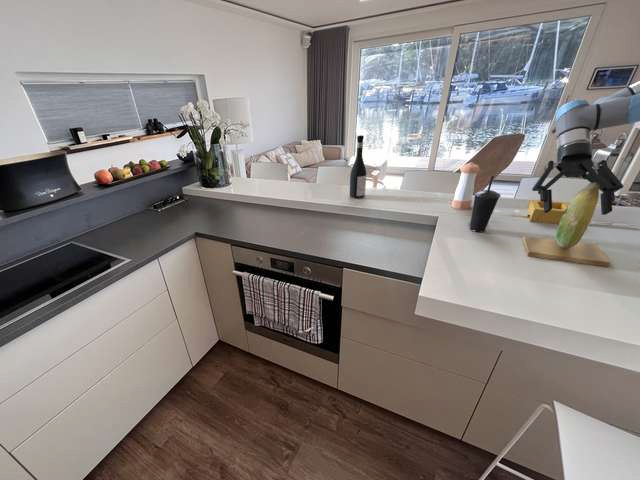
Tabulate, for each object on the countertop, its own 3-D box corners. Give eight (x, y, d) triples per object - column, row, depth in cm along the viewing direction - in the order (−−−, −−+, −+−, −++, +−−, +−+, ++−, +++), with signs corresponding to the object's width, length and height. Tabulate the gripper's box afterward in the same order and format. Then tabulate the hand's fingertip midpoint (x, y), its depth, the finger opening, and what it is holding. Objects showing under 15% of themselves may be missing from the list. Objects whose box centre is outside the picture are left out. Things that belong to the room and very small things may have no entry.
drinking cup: (493, 233, 103) (511, 178, 93) (469, 233, 105) (485, 179, 95) (484, 225, 110) (500, 172, 100) (462, 225, 111) (475, 173, 101)
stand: (562, 214, 113) (567, 202, 110) (569, 225, 104) (575, 212, 102) (525, 211, 118) (530, 199, 116) (529, 221, 110) (534, 208, 107)
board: (594, 248, 89) (596, 244, 88) (607, 267, 81) (610, 262, 80) (522, 240, 98) (523, 236, 97) (527, 256, 89) (528, 251, 88)
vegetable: (580, 253, 85) (615, 186, 75) (554, 251, 87) (584, 186, 77) (570, 244, 90) (601, 180, 80) (546, 243, 92) (573, 180, 82)
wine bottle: (367, 195, 152) (372, 134, 137) (359, 199, 148) (363, 137, 133) (354, 193, 158) (357, 134, 143) (346, 197, 153) (348, 136, 138)
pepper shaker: (448, 204, 131) (457, 161, 122) (463, 203, 131) (474, 159, 122) (457, 210, 125) (468, 164, 116) (473, 208, 125) (486, 163, 116)
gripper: (617, 155, 88) (622, 219, 83) (519, 157, 96) (519, 215, 92) (638, 139, 81) (645, 207, 76) (530, 142, 89) (531, 204, 85)
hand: (576, 212), depth 84 cm, fingers open, 13 cm apart
